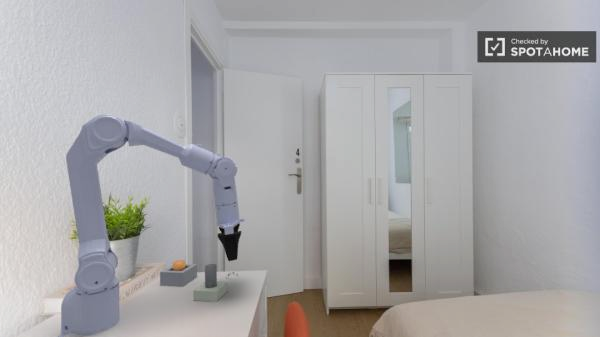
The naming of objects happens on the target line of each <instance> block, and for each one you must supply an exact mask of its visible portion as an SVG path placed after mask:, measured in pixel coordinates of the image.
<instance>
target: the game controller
mask: <svg viewBox="0 0 600 337" xmlns="http://www.w3.org/2000/svg"><path fill="white" fill-rule="evenodd" d="M235 275H236V276H238V275H239V274H238V273H237V271H230V272H229V273H227V274H226V276H225V278H226V279H228V280H229V279H232V277H234V276H235Z"/></svg>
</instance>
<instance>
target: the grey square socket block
mask: <svg viewBox="0 0 600 337" xmlns="http://www.w3.org/2000/svg"><path fill="white" fill-rule="evenodd" d="M197 278H198V264H196V263H195V264H194V263H185V269H184V270H182V271H173V264H172V265H170V266H168V267H167V268H165V269H162V270H161V271H160V272H159V284H160V286H161V287H185V286H186V285H188V284H189V283H191V282H192V281H194V280H195V279H197Z"/></svg>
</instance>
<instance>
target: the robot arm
mask: <svg viewBox="0 0 600 337" xmlns="http://www.w3.org/2000/svg"><path fill="white" fill-rule="evenodd" d="M126 143H128V146H129V147H134V146H135V147H137V146H146V147H148V148H151V149H153V150H156V151H159V152H162V153H164V154H166V155H167V154H168V155H169V156H173V157H174V158H178V160H179V161H180V164H181V166H184V167H186V168H189V169H191V170H194V171H196V172H199V173H201V174H204V175H208V176H209V177H210V178H211V179H212V186H213V188H212V191H213V198H214V207H215V216H216V223H215V224H216V227H218V230H219V231H220V233H219V232H217V239H218V240H219V241H220V243H221V244H222V247H223V249H224V252H225V255H226V258H227V261H228V262H233V261H236V260H238V254H239V253H238V252H239V243H240V238H241V236H242V230H239V228H240V225H241V224H240V223H241V222H244V221H245V218H244V217H240V210H239V202H238V195H237V185H236V179H235V178H236V176H237V172H238V167H237V166H236V164H235V163H234V161H233V160H232V159H230V158H229V157H220V156H221V153H219V152H215V153H214V152H212V151H210V150H208V149H205V148H203V144H200V143H196V144H194V143H190V144H187V145H183V144H181V143H178V142H177V141H175V140H173V139H171V138H168V137H166V136H165V135H162V134H160V133H157V132H155V131H154V130H151V129H149V128H147V127H145V126H143V125H140V124H138V123H135V122H133V121H131V120H127V119H123V120H122V119H121V118H119V117H118V116H117V115H114V114H113V115H112V114H108V113H107V114H105V113H102V114H98V115H97V116H95V117H93V118H91V119H90V120H88V121H87V122H86V123H85V124H83V125H82V126H81V130H80V131H79V133H78V136H77V137H76V138H75V140H74V142H73V143H72V145H71V146H70V148H69V149H68V151H67V152H66V156H65V160H66V167H67V172H68V173H67V174H68V180H69V187H70V193H71V194H70V195H71V200H72V206H73V213H74V220H75V226H76V233H77V239H78V240H77V241H78V244H79V245H78V253H77V260H78V268H77V270H76V272H75V275H74V283H75V285H76V286H75V287H73V288H71V289H69V291H67V293H65V295H64V297H63V299H62V301H61V308H60V309H61V310H60V311H61V312H60V320H61V322H60V325H61V326H60V330H61V332H60V334H59V335H58V336H57V337H66V336H67V335H69V334H71V333H73V334H74V333H75V334H77V335H79V336H80V335H81V336H87V335H94V334H98V333H101V332H104V331H106V330H109V329H110V328H113V327H114V326H116V325H117V324H118V323H119V322H120V320H121V318H120V315H121V314H120V312H121V310H120V308H121V307H120V279H119V278H118V277H117V276H116V268H117V267H118V264H119V260H118V256H117V255H116V253H115V252H114V251H113V249H112V246H111V242H110V239H109V236H108V230H107V224H106V223H107V222H106V216H105V208H104V202H103V196H102V189H101V183H100V176H99V169H98V164H99V163H100V162H101V161H102V160H103V159H105V157H107V155H108V154H111V153H112V152H115V151H116V150H119V149H121V148H122V147H124V146H125V145H126Z"/></svg>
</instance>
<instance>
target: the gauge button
mask: <svg viewBox="0 0 600 337" xmlns="http://www.w3.org/2000/svg"><path fill="white" fill-rule="evenodd" d="M185 264H186V261H185V260H183V259H182V260H175V261H174V262H172V265H173V271H182V270H184V269H185Z"/></svg>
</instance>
